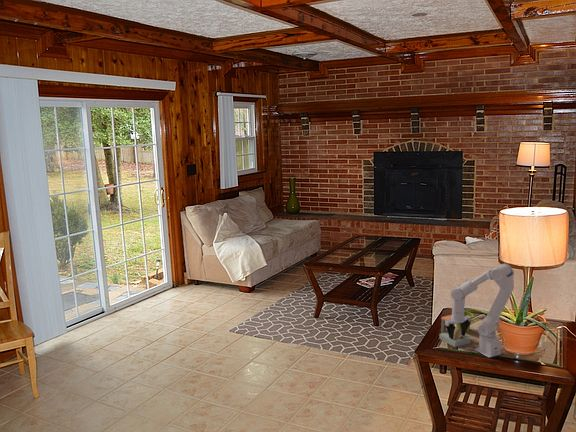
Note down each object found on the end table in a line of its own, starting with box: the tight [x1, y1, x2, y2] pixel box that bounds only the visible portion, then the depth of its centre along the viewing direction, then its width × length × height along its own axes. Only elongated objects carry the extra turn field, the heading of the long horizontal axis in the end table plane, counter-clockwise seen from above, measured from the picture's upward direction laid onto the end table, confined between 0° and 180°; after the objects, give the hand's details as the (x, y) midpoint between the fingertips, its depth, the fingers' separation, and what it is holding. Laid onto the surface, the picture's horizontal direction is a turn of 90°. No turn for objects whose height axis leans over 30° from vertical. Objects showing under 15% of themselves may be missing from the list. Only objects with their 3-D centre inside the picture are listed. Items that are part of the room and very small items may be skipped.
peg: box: [453, 326, 462, 340], centre depth 257 cm, size 4×4×7 cm
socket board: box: [438, 331, 472, 348], centre depth 259 cm, size 11×10×2 cm
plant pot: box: [456, 310, 474, 333], centre depth 271 cm, size 9×9×9 cm
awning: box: [440, 314, 455, 334], centre depth 264 cm, size 4×7×10 cm, turn 115°
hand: (457, 336), depth 257 cm, fingers open, 7 cm apart
